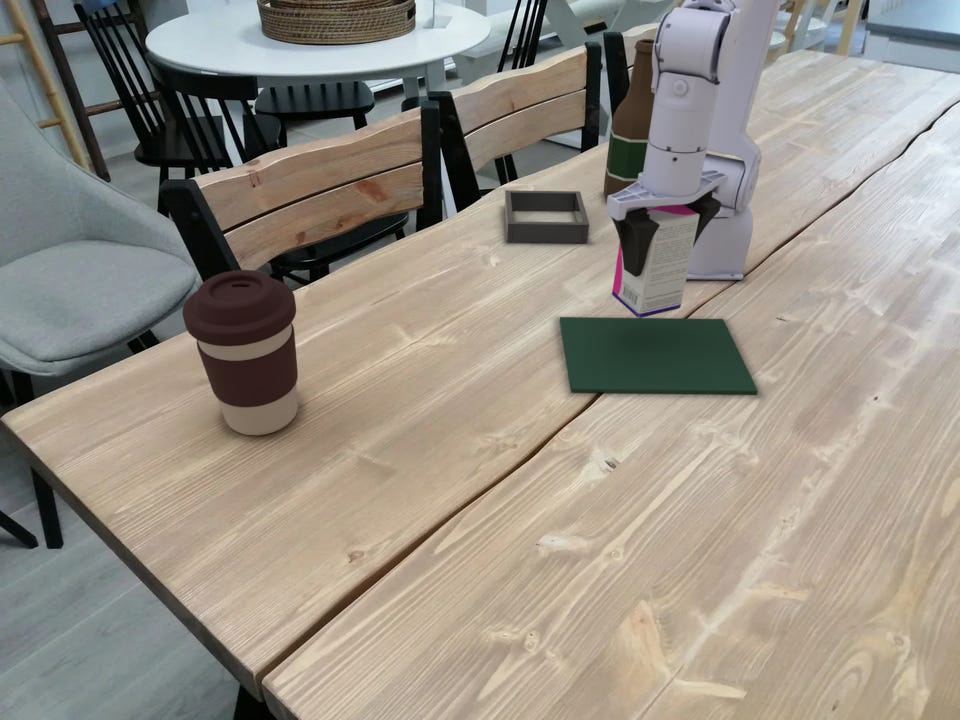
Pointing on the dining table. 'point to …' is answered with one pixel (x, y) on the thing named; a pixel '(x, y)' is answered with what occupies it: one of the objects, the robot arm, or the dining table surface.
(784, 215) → the dining table surface
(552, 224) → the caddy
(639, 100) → the beer bottle
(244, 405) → the coffee cup
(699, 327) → the mat
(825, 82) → the dining table surface
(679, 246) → the supplement box
